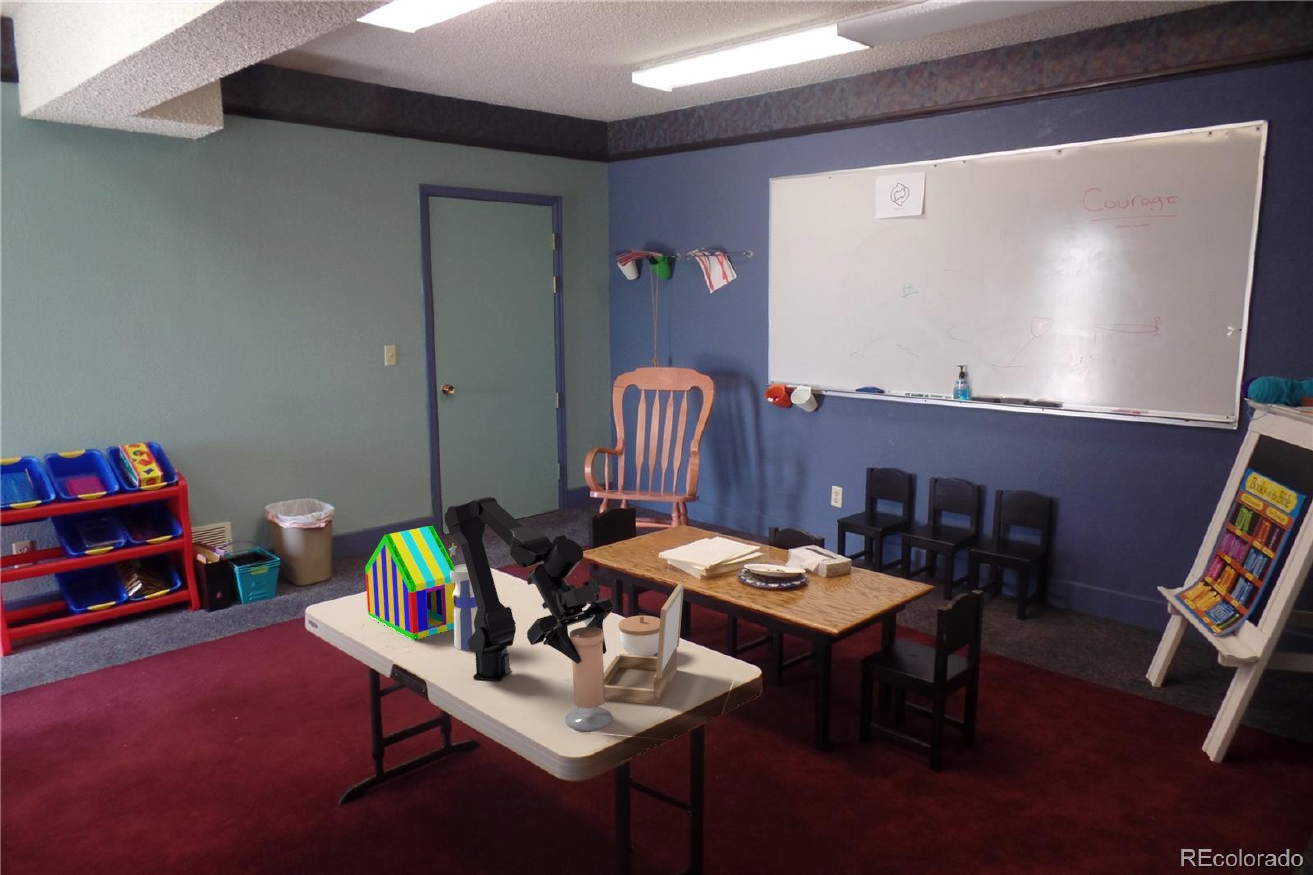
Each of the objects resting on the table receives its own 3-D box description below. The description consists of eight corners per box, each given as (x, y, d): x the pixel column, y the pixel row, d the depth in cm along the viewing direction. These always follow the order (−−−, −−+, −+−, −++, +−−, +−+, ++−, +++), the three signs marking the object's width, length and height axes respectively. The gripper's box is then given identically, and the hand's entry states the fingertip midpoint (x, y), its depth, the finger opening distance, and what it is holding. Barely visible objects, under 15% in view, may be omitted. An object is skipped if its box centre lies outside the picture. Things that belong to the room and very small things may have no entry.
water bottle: (448, 651, 208) (443, 549, 205) (456, 638, 217) (452, 540, 213) (482, 651, 208) (478, 549, 205) (489, 638, 217) (485, 540, 213)
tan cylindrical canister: (565, 702, 170) (562, 634, 169) (590, 691, 175) (587, 624, 173) (589, 711, 166) (585, 641, 164) (613, 700, 171) (610, 631, 169)
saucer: (559, 729, 168) (559, 724, 167) (574, 709, 176) (573, 704, 176) (604, 733, 166) (603, 729, 165) (616, 713, 174) (616, 708, 174)
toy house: (368, 618, 233) (362, 527, 230) (414, 606, 242) (409, 518, 239) (413, 641, 216) (408, 542, 212) (461, 627, 225) (456, 532, 222)
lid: (655, 677, 176) (654, 609, 175) (674, 645, 194) (673, 582, 192) (666, 678, 176) (665, 609, 174) (684, 645, 194) (683, 582, 192)
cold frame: (593, 699, 180) (592, 672, 180) (616, 666, 198) (616, 641, 197) (658, 705, 177) (658, 677, 177) (676, 671, 195) (676, 645, 194)
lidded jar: (639, 643, 212) (639, 605, 211) (674, 653, 205) (673, 614, 204) (610, 656, 204) (609, 617, 203) (644, 667, 197) (644, 627, 196)
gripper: (534, 578, 163) (573, 650, 157) (608, 558, 176) (646, 624, 170) (510, 609, 170) (547, 679, 164) (583, 588, 183) (620, 652, 177)
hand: (592, 657), depth 168 cm, fingers closed on tan cylindrical canister, 6 cm apart
